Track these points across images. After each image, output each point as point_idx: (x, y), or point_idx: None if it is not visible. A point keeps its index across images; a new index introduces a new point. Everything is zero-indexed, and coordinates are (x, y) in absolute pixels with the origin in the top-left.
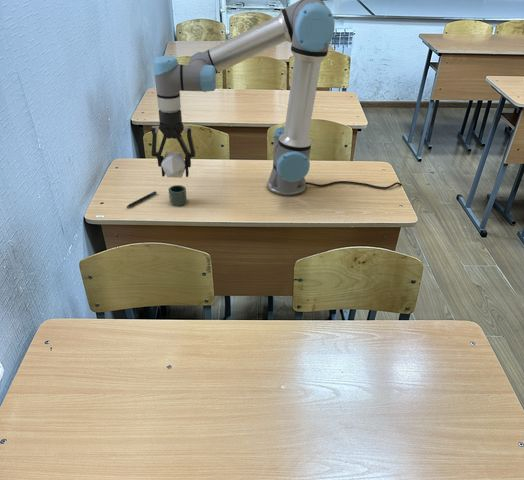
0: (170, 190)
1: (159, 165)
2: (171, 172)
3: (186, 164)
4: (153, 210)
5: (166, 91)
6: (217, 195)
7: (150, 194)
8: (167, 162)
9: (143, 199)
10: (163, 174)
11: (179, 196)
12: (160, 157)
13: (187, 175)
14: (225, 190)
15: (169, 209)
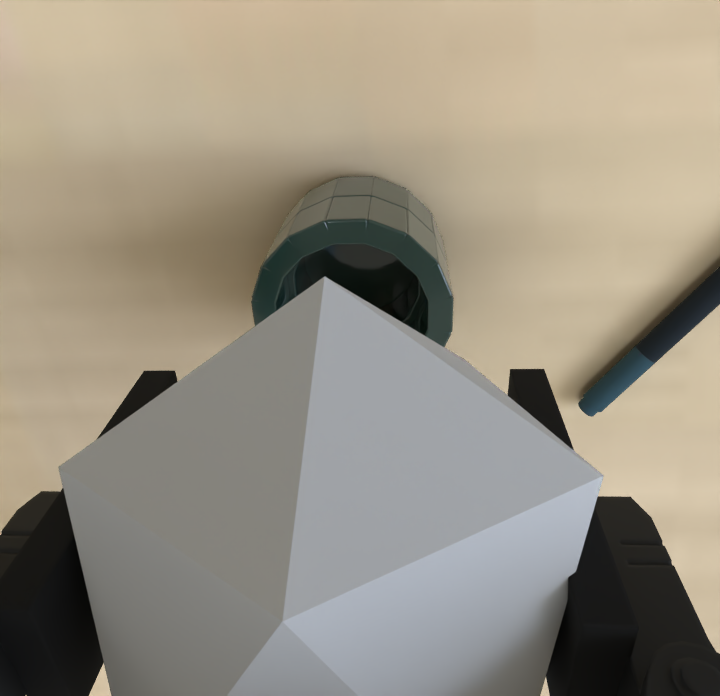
0: (426, 277)
1: (621, 514)
2: (352, 295)
3: (59, 515)
4: (610, 71)
5: None
6: (58, 389)
7: (637, 359)
8: (441, 502)
9: (710, 277)
10: (526, 387)
11: (318, 208)
12: (637, 671)
13: (141, 383)
14: (27, 462)
15: (436, 106)
